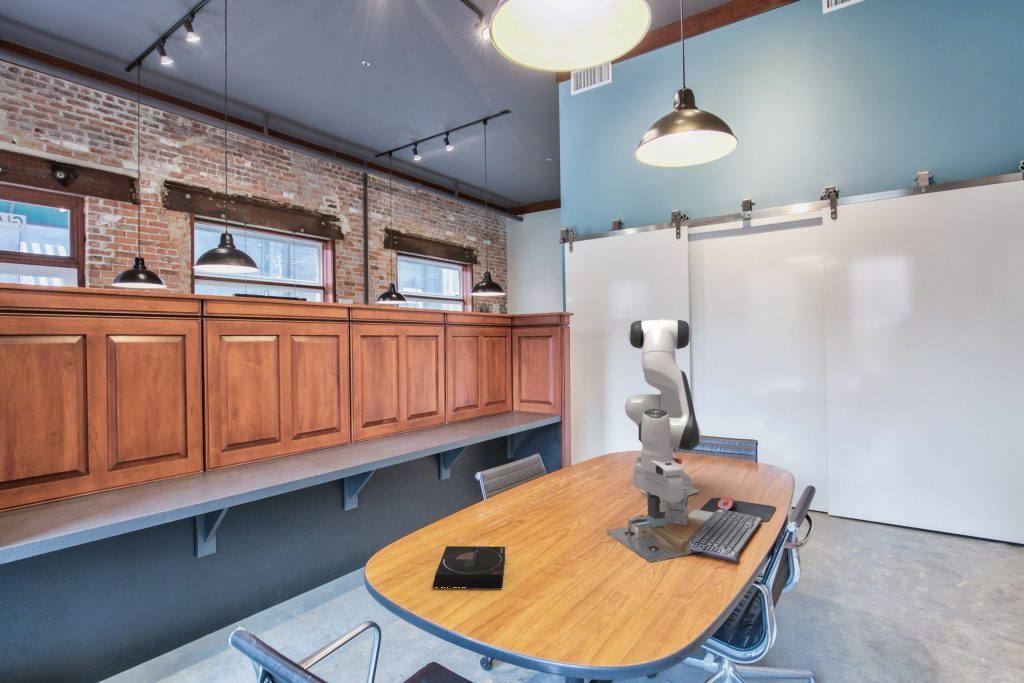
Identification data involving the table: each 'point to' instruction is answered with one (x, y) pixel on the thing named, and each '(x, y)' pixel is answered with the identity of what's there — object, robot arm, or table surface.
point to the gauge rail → (662, 534)
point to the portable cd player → (471, 567)
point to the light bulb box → (678, 510)
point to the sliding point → (652, 515)
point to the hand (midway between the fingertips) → (656, 508)
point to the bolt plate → (645, 544)
